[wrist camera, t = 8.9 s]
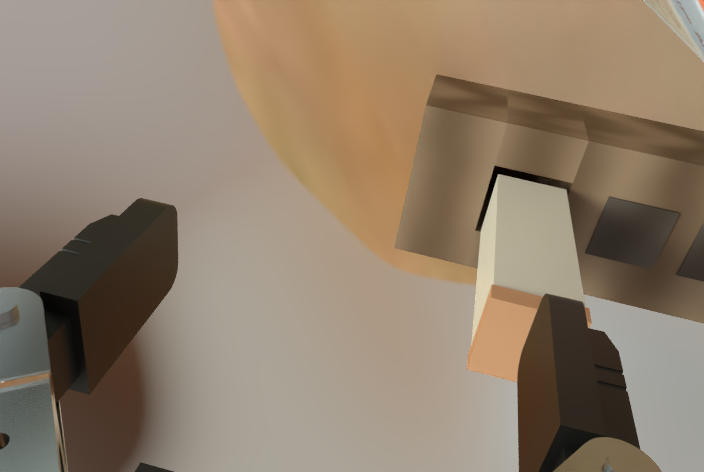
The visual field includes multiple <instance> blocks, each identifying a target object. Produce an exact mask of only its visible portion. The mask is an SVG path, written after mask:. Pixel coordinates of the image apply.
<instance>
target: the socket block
mask: <svg viewBox="0 0 704 472" xmlns="http://www.w3.org/2000/svg"><path fill="white" fill-rule="evenodd" d="M494 166H499V167H503V168H508V169H512V170H517V171H521V172H526V173H530V174H534V175H539V176H543V177H548V178H552V182H551V185H550V186H553V187H557V188H562V189H566V190H567V196H568V202H569V208H570V215H571V221H572V227H573V233H574V239H575V245H576V251H577V258H578V264H579V270H580V276H581V282H582V288H583V294H585V295H590V296H594V297H598V298H602V299H606V300H610V301H614V302H618V303H622V304H626V305H631V306H635V307H639V308H643V309H647V310H651V311H655V312H659V313H663V314H667V315H672V316H676V317H680V318H684V319H688V320H693V321H696V322H700V323H704V132H703V131H698V130H693V129H689V128H684V127H679V126H675V125H670V124H665V123H661V122H656V121H651V120H647V119H642V118H637V117H633V116H628V115H623V114H619V113H614V112H609V111H605V110H600V109H595V108H591V107H586V106H581V105H577V104H572V103H567V102H562V101H558V100H553V99H548V98H544V97H539V96H534V95H530V94H525V93H520V92H516V91H511V90H506V89H502V88H497V87H492V86H488V85H483V84H478V83H474V82H469V81H464V80H460V79H455V78H450V77H446V76H441V75H436V78H435V81H434V83H433V86H432V89H431V92H430V95H429V98H428V101H427V104H426V108H425V113H424V117H423V122H422V126H421V131H420V135H419V140H418V144H417V149H416V153H415V158H414V162H413V167H412V171H411V176H410V180H409V185H408V189H407V194H406V198H405V203H404V207H403V212H402V216H401V221H400V225H399V230H398V234H397V239H396V243H395V248H397V249H401V250H405V251H409V252H413V253H417V254H421V255H425V256H429V257H434V258H438V259H442V260H446V261H450V262H454V263H458V264H462V265H466V266H470V267H475V268H478V258H479V246H480V234H481V228H482V225H483V222H484V219H485V215H486V212H487V209H488V206H489V202H490V199H491V196H492V192H493V191H489V190H487V189H488V186H489V183H490V179H491V176H492V173H493V169H494Z"/></svg>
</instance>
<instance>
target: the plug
mask: <svg viewBox="0 0 704 472" xmlns="http://www.w3.org/2000/svg"><path fill="white" fill-rule="evenodd" d="M546 293H547V294H552V295H556V296H560V297H564V298H569V299H573V300H577V301H582V302H583V303H584V307H585V301H584V294H583V288H582V282H581V276H580V270H579V264H578V258H577V251H576V245H575V239H574V233H573V227H572V221H571V215H570V208H569V202H568V196H567V190H566V189H562V188H557V187H553V186H549V185H544V184H540V183H535V182H531V181H527V180H522V179H518V178H513V177H509V176H505V175H500V174H498V176H497V179H496V183H495V186H494V189H493V192H492V196H491V199H490V202H489V206H488V209H487V212H486V215H485V219H484V222H483V225H482V228H481V234H480V246H479V258H478V271H477V283H476V296H475V308H474V321H473V332H472V345H471V348H470V351H469V354H468V362H467V369H468V370H472V371H475V372H479V373H483V374H487V375H491V376H495V377H499V378H502V379H506V380H510V381H514V382H517V375H518V366H519V361H520V356H521V353H522V349H523V347H524V344H525V341H526V339H527V336H528V333H529V331H530V328H531V326H532V323H533V320H534V318H535V315H536V312H537V310H538V307H539V305H540V302H541V300H542V298H543V296H544V295H545V294H546ZM585 312H586V318H587V324H588V328H589V327H590V325H591V317H590V310H589V308H586V307H585Z"/></svg>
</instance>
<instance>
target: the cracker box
mask: <svg viewBox="0 0 704 472" xmlns="http://www.w3.org/2000/svg"><path fill="white" fill-rule="evenodd" d="M643 1H644V2H645V3H646V4H647V5H648V6H649V7H650V8H651V9H652V10H653V11H654V12H655V13H656V14H657V15H658V16H659V17H660V18H661V19H662V20H663V21H664V22H665V23H666V24H667V25H668V26H669V27H670V28H671V29H672V30H673V31H674V32H675V33H676V34H677V35H678V36H679V38H680V39H681V40H682V41H683V42H684V43H685V44H686V45H687V46H688V47H689V48H690V49H691V50H692V51H693V52H694V53H695V54H696V55H697V56H698V57H699V58H700V59H701V60H702V61H703V62H704V0H643Z"/></svg>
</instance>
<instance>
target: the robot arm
mask: <svg viewBox="0 0 704 472" xmlns="http://www.w3.org/2000/svg"><path fill="white" fill-rule="evenodd" d="M177 234H178V233H177V211H176V208H175V207H174V206H173V205H169V204H164V203H160V202H156V201H151V200H147V199H143V198H139V199H137V200H136V201H135V202H134V203H133V204H132V205H131V206H129V207H128V208H127V209H126V210H125V211H124V212H123V213H122V214H121V215H120V216H116V215H109V216H107V217H104V218H102V219H100V220H98V221H96V222H93V223H91V224H89V225H88V226H87V227H86V228H85V229H83V230H82V231H81V232H80V233H79V234H78V235H77V236H76V237H75V239H74V240H71V241H70V242H69V243H68V244H67V245H66V246H64V247H63V249H62V251H59V252H58V253H57V254H56V255H54V256H53V257H52V258H51V259H50V260H49V261H48V262H47V263H45V264H44V265H43V266H42V267H41V268H40V269H39V270H38V271H36V272H35V273H34V274H33V275H32V276H31V277H30V278H29V279H28V280H26V281H25V282H24V283H23V284H22V285H21V286H20V287H19V288H15V287H10V288H9V287H6V288H0V472H68V467H67V459H66V450H65V442H64V434H63V425H62V417H61V409H60V403H59V400H60V398H61V397H62V396H63V395H64V394H65V392H66V391H67V390H68V389H71V390H75V391H79V392H82V393H86V394H91V392H92V391H93V390H94V388H95V387H96V386H97V384H98V383H99V382H100V381H101V379H102V378H103V377H104V375H105V374H106V373H107V371H108V370H109V369H110V368H111V366H112V365H113V364H114V362H115V361H116V360H117V358H118V357H119V356H120V355H121V353H122V352H123V351H124V349H125V348H126V347H127V345H128V344H129V343H130V342H131V340H132V339H133V338H134V336H135V335H136V334H137V332H138V331H139V330H140V329H141V327H142V326H143V325H144V323H145V322H146V321H147V319H148V318H149V317H150V316H151V314H152V313H153V312H154V310H155V309H156V308H157V306H158V305H159V304H160V303H161V301H162V300H163V299H164V297H165V296H166V295H167V293H168V292H169V291H170V289H171V287H172V285H173V283H174V280H175V278H176V274H177V269H178V235H177ZM622 373H623V369H622V365H621V360H620V356H619V351H618V350H617V349H616V348H615V346H614V345H613V343H612V342H611V340H610V339H609V338H608V336H607V335H606V334H605V332H602V331H598V330H593V329H590V328H588V324H587V318H586V312H585V307H584V303H583V302H582V301H577V300H573V299H569V298H564V297H560V296H556V295H552V294H547V293H546V294H545V295H544V296H543V298H542V300H541V302H540V305H539V307H538V310H537V312H536V315H535V318H534V320H533V323H532V326H531V328H530V331H529V333H528V336H527V339H526V341H525V344H524V347H523V349H522V353H521V356H520V361H519V366H518V375H517V384H518V385H517V386H518V436H519V437H518V440H519V441H518V442H519V472H661V470H660V469H659V467H658V466H657V465H656V463H655V462H654V461H653V460H652V459H651V458H650V457H649V456H648V455H646V454H645V453H644V452H643V451H641V450H640V446H639V442H638V437H637V433H636V428H635V423H634V419H633V415H632V410H631V405H630V401H629V397H628V392H627V391H626V388H627V387H626V383H625V378H624V375H622ZM135 472H173V471H169V470H166V469H162V468H158V467H155V466H151V465H148V464H144V463H140V464H139V466H138V467H137V469H136V471H135Z"/></svg>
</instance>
